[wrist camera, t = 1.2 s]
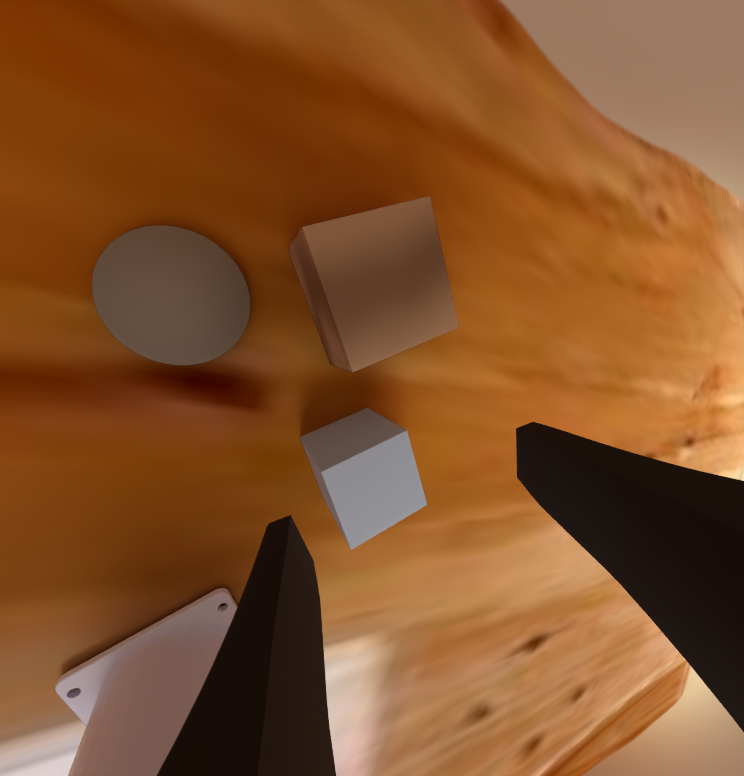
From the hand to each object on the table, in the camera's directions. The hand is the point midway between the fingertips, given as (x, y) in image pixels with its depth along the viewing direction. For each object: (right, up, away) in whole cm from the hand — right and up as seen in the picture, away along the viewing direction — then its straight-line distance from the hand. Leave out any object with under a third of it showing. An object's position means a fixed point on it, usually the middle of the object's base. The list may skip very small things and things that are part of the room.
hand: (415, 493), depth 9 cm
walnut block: (-2, +9, +9) cm, 13 cm away
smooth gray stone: (-10, +7, +6) cm, 14 cm away
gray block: (-3, -1, +10) cm, 11 cm away
